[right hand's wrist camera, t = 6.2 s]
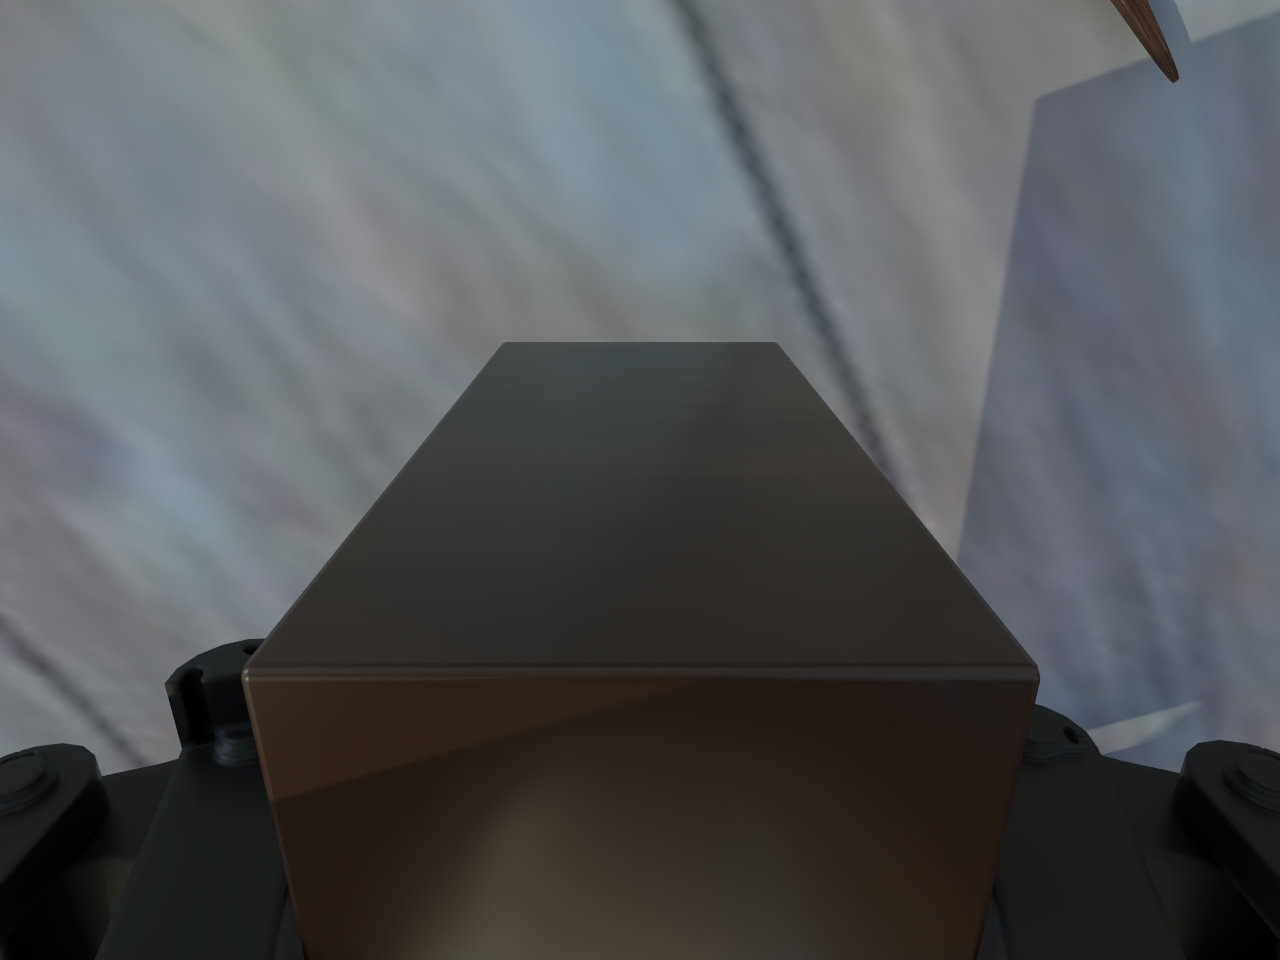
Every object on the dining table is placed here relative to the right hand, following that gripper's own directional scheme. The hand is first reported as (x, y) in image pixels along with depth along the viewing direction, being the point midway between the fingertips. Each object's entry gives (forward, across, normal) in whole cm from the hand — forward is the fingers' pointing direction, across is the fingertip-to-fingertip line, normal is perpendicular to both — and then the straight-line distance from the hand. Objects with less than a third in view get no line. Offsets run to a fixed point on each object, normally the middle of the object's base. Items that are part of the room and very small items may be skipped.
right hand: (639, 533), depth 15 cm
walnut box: (+1, 0, -8) cm, 9 cm away
